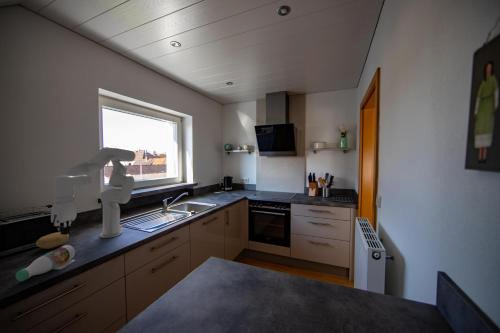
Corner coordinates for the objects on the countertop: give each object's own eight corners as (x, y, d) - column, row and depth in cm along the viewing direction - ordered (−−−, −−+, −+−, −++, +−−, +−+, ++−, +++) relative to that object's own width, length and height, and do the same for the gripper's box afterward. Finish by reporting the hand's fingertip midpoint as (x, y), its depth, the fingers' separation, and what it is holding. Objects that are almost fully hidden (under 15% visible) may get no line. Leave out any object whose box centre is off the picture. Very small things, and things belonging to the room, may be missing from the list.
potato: (32, 250, 110) (32, 236, 110) (65, 241, 122) (64, 228, 122) (39, 254, 106) (39, 240, 105) (72, 244, 118) (72, 231, 118)
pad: (46, 260, 100) (46, 259, 100) (75, 260, 100) (75, 259, 100) (28, 268, 92) (28, 268, 92) (60, 269, 93) (60, 268, 92)
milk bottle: (69, 261, 102) (20, 288, 82) (59, 250, 102) (8, 275, 82) (78, 252, 100) (31, 277, 81) (68, 241, 100) (18, 264, 81)
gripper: (70, 196, 108) (70, 228, 109) (42, 202, 93) (43, 239, 94) (84, 196, 109) (84, 228, 109) (58, 202, 94) (58, 240, 94)
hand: (65, 233), depth 102 cm, fingers closed
